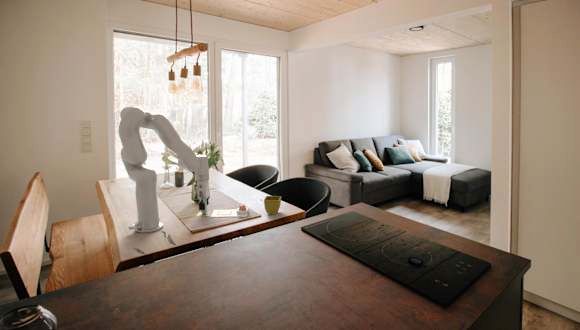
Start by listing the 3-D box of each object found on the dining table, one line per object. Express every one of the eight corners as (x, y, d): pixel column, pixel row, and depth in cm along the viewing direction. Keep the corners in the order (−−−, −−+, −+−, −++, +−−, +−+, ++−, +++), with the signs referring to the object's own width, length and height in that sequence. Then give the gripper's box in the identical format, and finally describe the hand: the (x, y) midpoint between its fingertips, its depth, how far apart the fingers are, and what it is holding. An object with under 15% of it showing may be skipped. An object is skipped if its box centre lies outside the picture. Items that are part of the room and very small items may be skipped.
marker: (203, 215, 174) (202, 196, 172) (199, 214, 176) (198, 195, 174) (208, 213, 177) (207, 194, 175) (204, 212, 179) (203, 193, 177)
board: (210, 218, 171) (209, 213, 171) (214, 211, 183) (214, 206, 182) (247, 217, 172) (246, 212, 172) (248, 210, 184) (248, 205, 183)
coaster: (196, 217, 173) (196, 216, 173) (199, 212, 180) (199, 212, 180) (209, 216, 173) (209, 215, 173) (211, 212, 180) (211, 211, 180)
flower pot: (281, 211, 183) (281, 196, 181) (279, 216, 174) (279, 200, 173) (266, 210, 184) (266, 195, 182) (264, 215, 175) (263, 200, 173)
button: (239, 211, 176) (238, 206, 175) (239, 209, 179) (239, 204, 179) (245, 211, 176) (245, 206, 175) (245, 209, 179) (245, 204, 179)
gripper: (205, 180, 165) (207, 212, 168) (212, 174, 182) (213, 202, 185) (191, 181, 164) (193, 212, 167) (198, 174, 181) (200, 203, 184)
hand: (204, 207), depth 176 cm, fingers open, 8 cm apart
